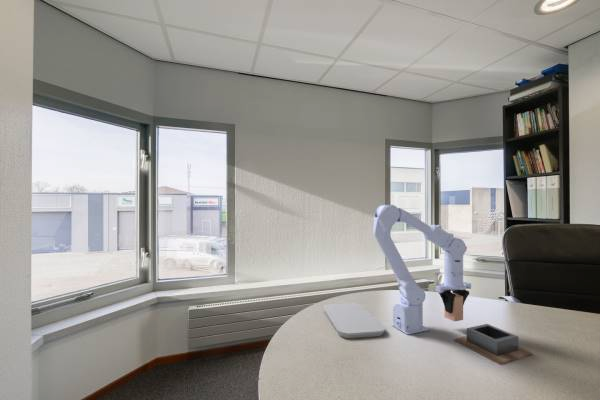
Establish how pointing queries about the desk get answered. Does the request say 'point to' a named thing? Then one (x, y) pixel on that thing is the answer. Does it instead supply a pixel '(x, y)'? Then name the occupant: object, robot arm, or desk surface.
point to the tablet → (353, 320)
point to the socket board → (493, 343)
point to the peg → (456, 309)
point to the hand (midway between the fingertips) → (453, 311)
